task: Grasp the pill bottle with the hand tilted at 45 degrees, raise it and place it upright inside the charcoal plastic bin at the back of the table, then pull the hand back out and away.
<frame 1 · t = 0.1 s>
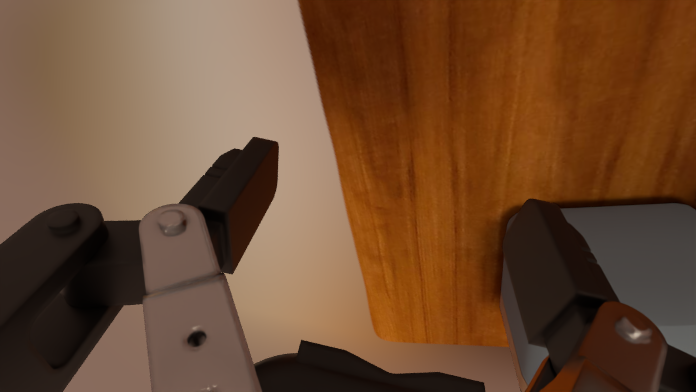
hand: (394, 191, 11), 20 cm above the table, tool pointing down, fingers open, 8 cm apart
grey rounded cube box: (578, 256, 38), on the table
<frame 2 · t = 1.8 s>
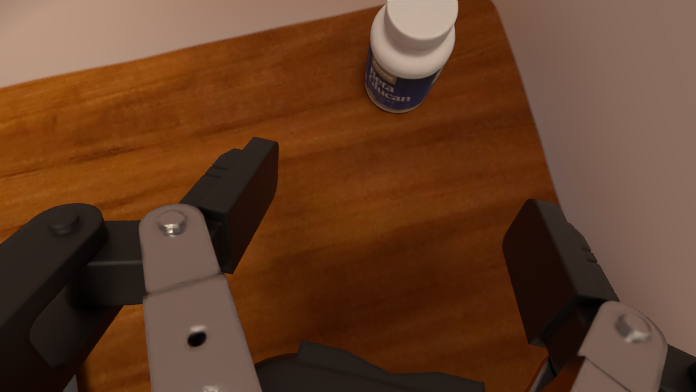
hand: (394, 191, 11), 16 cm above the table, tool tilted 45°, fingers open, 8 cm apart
pill bottle: (396, 84, 29), on the table
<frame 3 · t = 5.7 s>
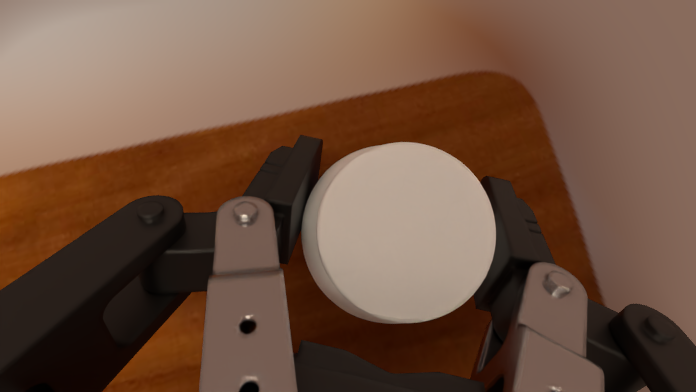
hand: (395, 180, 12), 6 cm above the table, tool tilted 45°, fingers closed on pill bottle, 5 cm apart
pill bottle: (371, 234, 17), on the table, touching gripper
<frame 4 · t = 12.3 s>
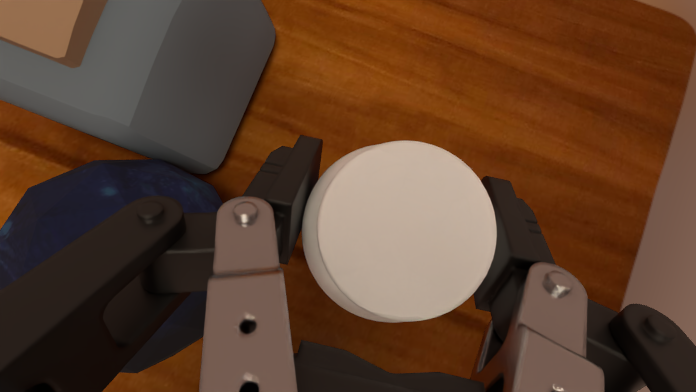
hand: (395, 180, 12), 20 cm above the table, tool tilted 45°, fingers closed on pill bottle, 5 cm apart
pill bottle: (372, 233, 17), point 14 cm above the table, touching gripper
decorative orb: (182, 255, 32), on the table
grey rounded cube box: (177, 79, 34), on the table
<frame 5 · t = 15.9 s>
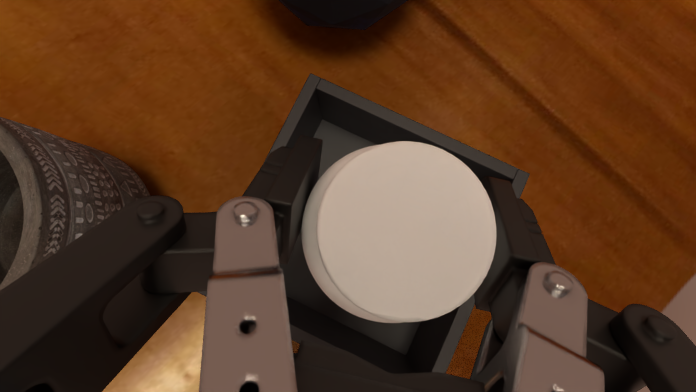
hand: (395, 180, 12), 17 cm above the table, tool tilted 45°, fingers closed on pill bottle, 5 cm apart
planter: (107, 231, 28), on the table
pill bottle: (372, 233, 17), point 11 cm above the table, touching gripper
bin: (362, 232, 28), on the table
when the fingers open (7 cm above the table, at t = 19.1 s): pill bottle stays where it is, resting on bin.
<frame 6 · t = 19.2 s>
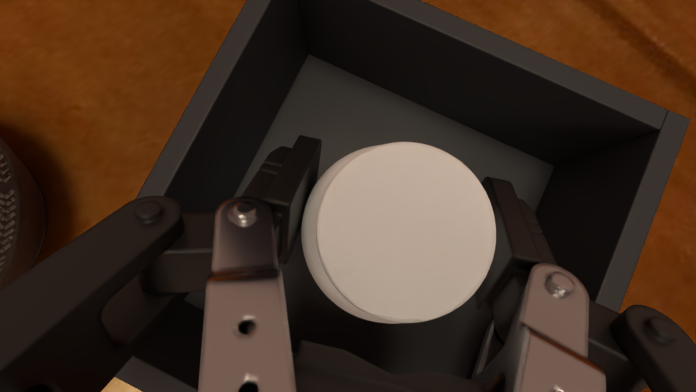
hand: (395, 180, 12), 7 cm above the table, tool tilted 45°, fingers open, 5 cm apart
pill bottle: (372, 233, 17), point 1 cm above the table, touching bin
bin: (370, 231, 18), on the table
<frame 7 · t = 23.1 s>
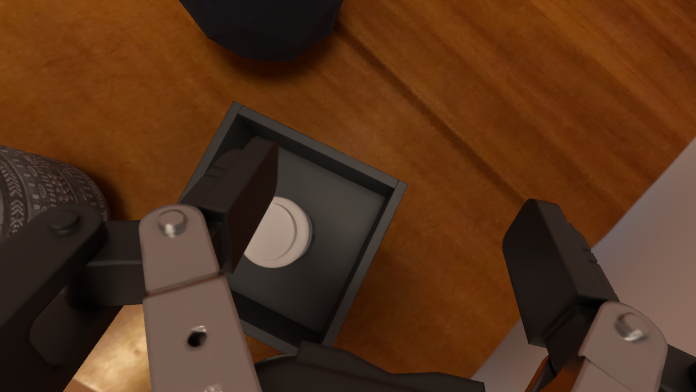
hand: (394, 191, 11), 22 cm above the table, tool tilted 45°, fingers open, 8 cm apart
planter: (71, 229, 33), on the table
pill bottle: (288, 233, 33), point 1 cm above the table, touching bin
decorative orb: (278, 22, 36), on the table
bin: (288, 231, 33), on the table
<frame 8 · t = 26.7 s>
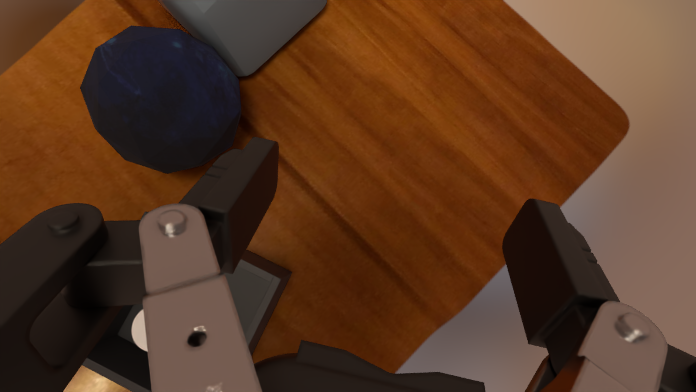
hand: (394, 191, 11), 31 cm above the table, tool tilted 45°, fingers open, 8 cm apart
pill bottle: (201, 306, 40), point 1 cm above the table, touching bin
decorative orb: (199, 124, 43), on the table
grey rounded cube box: (247, 6, 45), on the table
bin: (203, 303, 40), on the table
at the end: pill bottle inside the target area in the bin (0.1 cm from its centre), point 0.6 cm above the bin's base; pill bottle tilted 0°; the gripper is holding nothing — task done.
